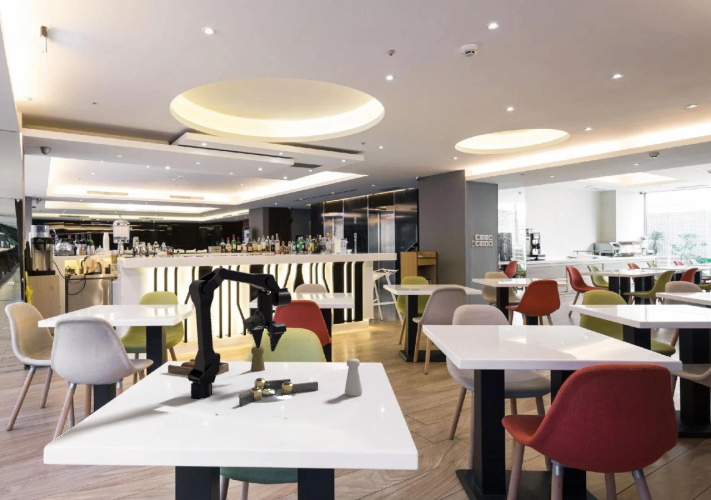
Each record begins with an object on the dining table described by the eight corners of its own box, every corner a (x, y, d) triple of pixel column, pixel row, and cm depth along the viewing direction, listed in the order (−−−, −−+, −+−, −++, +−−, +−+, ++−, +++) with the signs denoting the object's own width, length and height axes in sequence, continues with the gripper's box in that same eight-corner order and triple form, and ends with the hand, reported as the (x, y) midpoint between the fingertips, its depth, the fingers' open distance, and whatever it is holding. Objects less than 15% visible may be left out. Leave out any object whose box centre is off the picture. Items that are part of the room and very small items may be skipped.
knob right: (283, 395, 151) (283, 384, 151) (281, 392, 154) (280, 381, 155) (319, 391, 155) (319, 380, 156) (316, 388, 159) (316, 377, 159)
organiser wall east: (226, 370, 191) (226, 363, 191) (190, 366, 200) (190, 359, 200) (228, 370, 192) (228, 362, 192) (192, 365, 201) (192, 358, 201)
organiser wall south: (209, 377, 181) (209, 369, 181) (207, 377, 181) (207, 369, 181) (228, 371, 191) (228, 363, 191) (226, 370, 191) (226, 363, 191)
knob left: (254, 391, 156) (254, 380, 156) (254, 388, 159) (254, 377, 159) (290, 388, 159) (290, 377, 159) (289, 385, 163) (289, 375, 163)
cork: (267, 371, 189) (267, 345, 189) (262, 375, 183) (262, 347, 183) (253, 371, 190) (252, 344, 190) (248, 375, 184) (248, 347, 184)
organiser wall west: (205, 377, 180) (205, 370, 180) (167, 372, 188) (167, 365, 188) (207, 377, 181) (207, 369, 181) (170, 372, 190) (170, 364, 190)
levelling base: (266, 415, 136) (266, 398, 136) (216, 407, 144) (216, 390, 144) (307, 393, 157) (306, 378, 158) (261, 387, 165) (261, 373, 166)
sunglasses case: (227, 370, 192) (221, 357, 189) (217, 382, 186) (212, 370, 183) (193, 366, 199) (188, 354, 196) (183, 378, 193) (177, 366, 190)
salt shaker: (360, 401, 148) (360, 361, 149) (343, 400, 149) (342, 360, 150) (363, 396, 154) (363, 357, 154) (347, 395, 155) (346, 356, 155)
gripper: (232, 307, 170) (232, 349, 170) (261, 311, 157) (261, 356, 157) (257, 305, 178) (257, 345, 178) (287, 308, 165) (287, 351, 165)
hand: (265, 349), depth 169 cm, fingers open, 9 cm apart
